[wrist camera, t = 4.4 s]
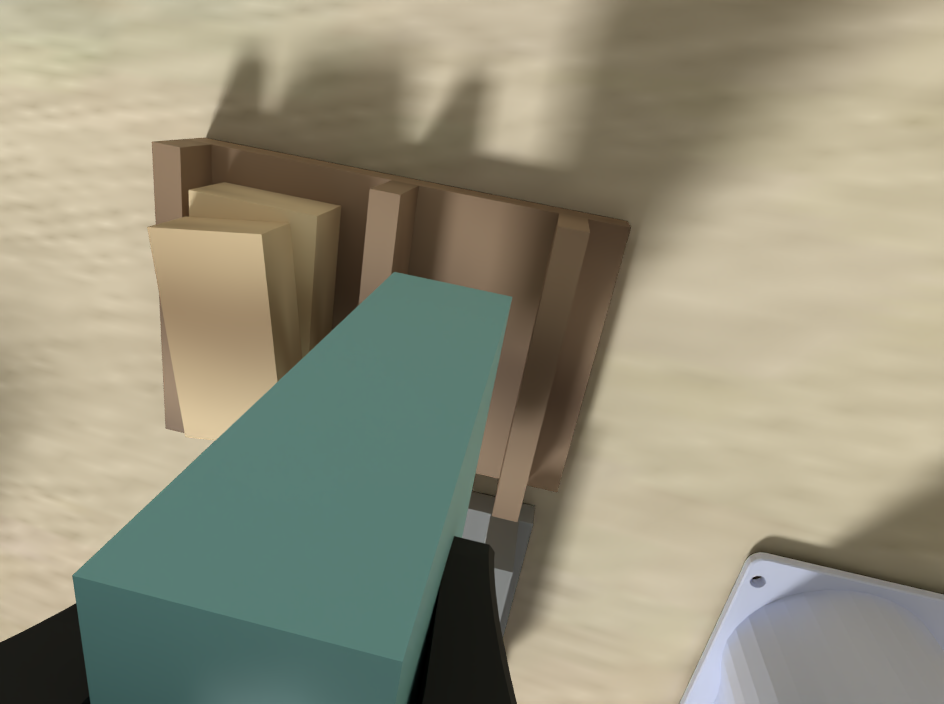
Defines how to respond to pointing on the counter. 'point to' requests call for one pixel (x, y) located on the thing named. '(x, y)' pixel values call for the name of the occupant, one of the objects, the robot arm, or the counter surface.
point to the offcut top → (226, 314)
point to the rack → (451, 261)
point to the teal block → (308, 522)
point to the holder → (500, 545)
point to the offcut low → (310, 244)
